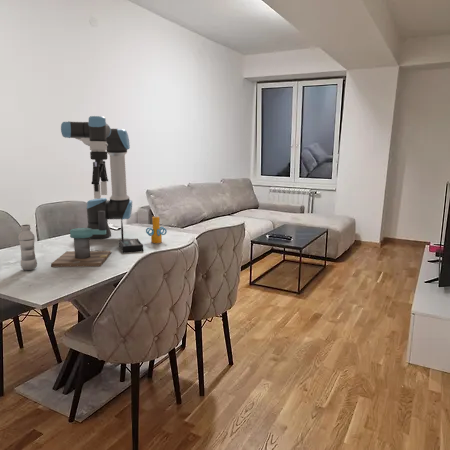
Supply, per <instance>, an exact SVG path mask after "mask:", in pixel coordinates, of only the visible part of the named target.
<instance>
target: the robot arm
mask: <svg viewBox="0 0 450 450" xmlns="http://www.w3.org/2000/svg"><path fill="white" fill-rule="evenodd" d="M60 133H61V136H62V137H63V138H65V139H66V138H67V139H76V140H79V141H81V142H82V143H83V144H84V145H86V146H87V147H89V150H90V152H89V155H90V156H89V157H90V160H92V180H91V185H93V198H92V199H90V200H87V202H86V214H87V215H86V217H87V227H86V228H91V229H99V222H98V211H105V221H106V234H92V236H91V237H89V240H90V239H92V240H93V239H94V240H96V239H97V240H98V239H100V240H101V239H108V238H110V237H112V231H111V228H110V226H109V222H108V220H121V215H122V221H124V220H129V219H131V216H132V212H133V211H132V210H133V200H131V199H130V196H129V195H128V193H127V177H126V174H127V173H126V171H127V170H126V154H127V153H128V150H129V149H130V148H131V147H130V146H131V145H130V139H129V134H128V132H127V130H126V129H125V128H111V126H110V125H109V124H108V123H107V121H106V118H105V116H101V115H100V116H99V115H96V116H95V115H94V116H93V115H91V116H89V117H88V121H69V120H68V121H63V122H62V123H61V125H60ZM108 155H109V165H110V168H109V169H110V182H111V196H110V197H109V200H108V199H107V197H101V196H108V185H107V182H109V179H108V175H107V174H108V173H107V167H106V160H107V159H108Z"/></svg>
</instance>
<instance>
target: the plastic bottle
mask: <svg viewBox="0 0 450 450" xmlns="http://www.w3.org/2000/svg"><path fill="white" fill-rule="evenodd" d="M20 230H21V231H20V233H19V234H18V242H19V247H20V256H21V257H20V266H21V269H22V270H23V271H33V270H35V269H36V268H37V267H38V261H37V258H36V253H35V242H36V241H35V237H36V236H35V234H34V233H33V231H31V224H22V225H20Z"/></svg>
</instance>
